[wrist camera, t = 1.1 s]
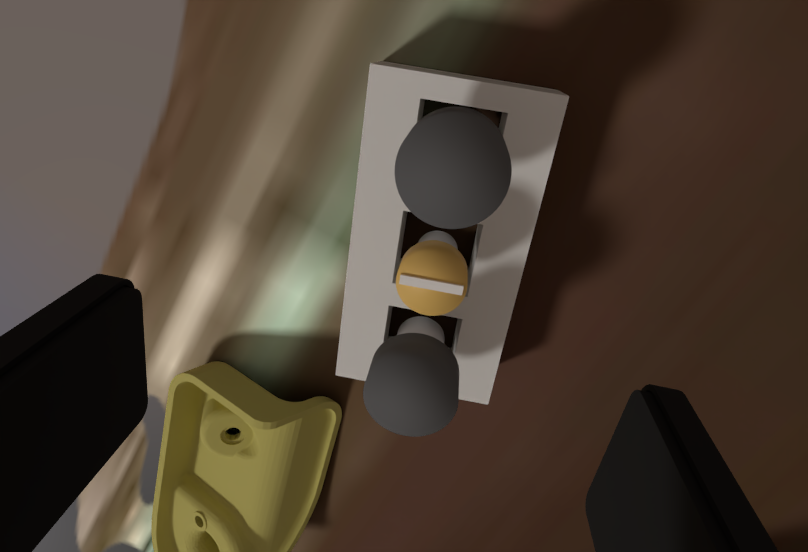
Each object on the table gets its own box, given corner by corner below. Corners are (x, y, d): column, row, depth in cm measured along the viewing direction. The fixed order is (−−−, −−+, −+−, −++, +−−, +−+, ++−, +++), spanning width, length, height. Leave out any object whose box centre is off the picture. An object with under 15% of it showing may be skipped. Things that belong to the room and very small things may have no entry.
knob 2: (467, 310, 32) (466, 367, 26) (452, 377, 34) (448, 444, 29) (387, 295, 32) (369, 349, 27) (377, 362, 34) (358, 426, 29)
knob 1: (513, 106, 27) (524, 124, 22) (492, 199, 29) (497, 238, 24) (417, 91, 27) (403, 103, 22) (403, 184, 30) (387, 218, 24)
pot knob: (473, 226, 30) (473, 259, 26) (461, 283, 32) (460, 323, 27) (411, 215, 30) (400, 245, 26) (402, 272, 32) (390, 310, 27)
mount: (557, 89, 30) (569, 96, 26) (486, 369, 37) (487, 404, 34) (382, 60, 30) (370, 63, 26) (348, 343, 38) (335, 375, 34)
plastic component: (172, 360, 38) (277, 436, 33) (252, 332, 44) (348, 392, 40) (144, 564, 45) (228, 648, 40) (217, 514, 51) (295, 582, 47)
